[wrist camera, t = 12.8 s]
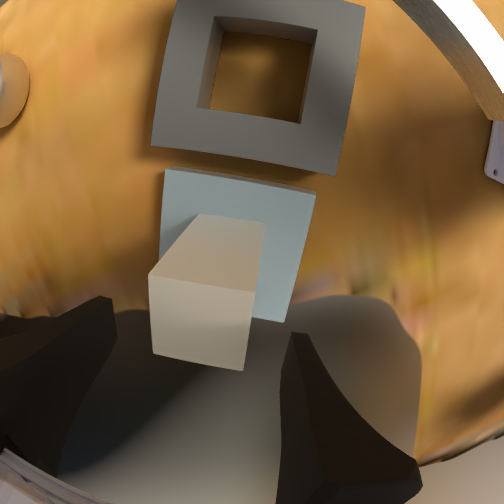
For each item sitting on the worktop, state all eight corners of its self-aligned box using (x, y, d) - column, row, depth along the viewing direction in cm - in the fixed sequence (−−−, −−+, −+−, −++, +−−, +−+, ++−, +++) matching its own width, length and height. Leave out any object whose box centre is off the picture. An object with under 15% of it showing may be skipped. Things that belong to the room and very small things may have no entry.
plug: (265, 222, 18) (255, 292, 11) (256, 281, 20) (243, 371, 12) (199, 213, 18) (147, 274, 11) (195, 272, 20) (153, 353, 12)
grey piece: (255, -20, 13) (233, -120, 4) (277, -36, 12) (272, -138, 3) (408, 119, 16) (517, 126, 6) (427, 101, 15) (539, 97, 6)
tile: (313, 190, 19) (316, 195, 17) (283, 310, 22) (283, 322, 21) (173, 165, 19) (165, 168, 17) (164, 286, 22) (157, 296, 21)
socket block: (353, 22, 14) (365, 6, 11) (326, 168, 18) (335, 176, 15) (195, 0, 14) (182, -18, 11) (169, 141, 18) (150, 145, 15)
